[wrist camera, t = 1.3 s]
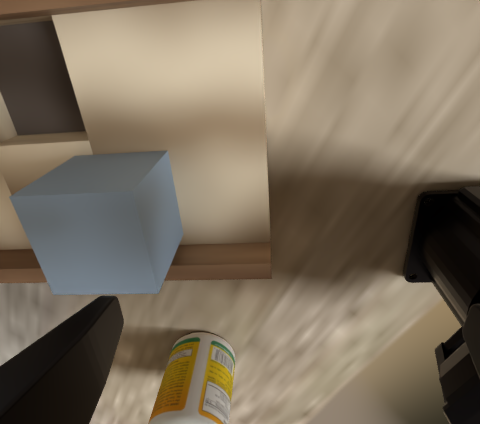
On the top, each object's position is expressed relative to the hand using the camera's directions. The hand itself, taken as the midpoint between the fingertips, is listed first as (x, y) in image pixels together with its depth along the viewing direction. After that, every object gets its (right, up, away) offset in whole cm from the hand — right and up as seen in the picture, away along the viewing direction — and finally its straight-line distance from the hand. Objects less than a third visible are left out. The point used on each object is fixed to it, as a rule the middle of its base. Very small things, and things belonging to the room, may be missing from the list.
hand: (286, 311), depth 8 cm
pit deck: (-10, +7, +11) cm, 16 cm away
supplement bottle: (-4, -9, +19) cm, 22 cm away
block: (-7, +3, +10) cm, 12 cm away
